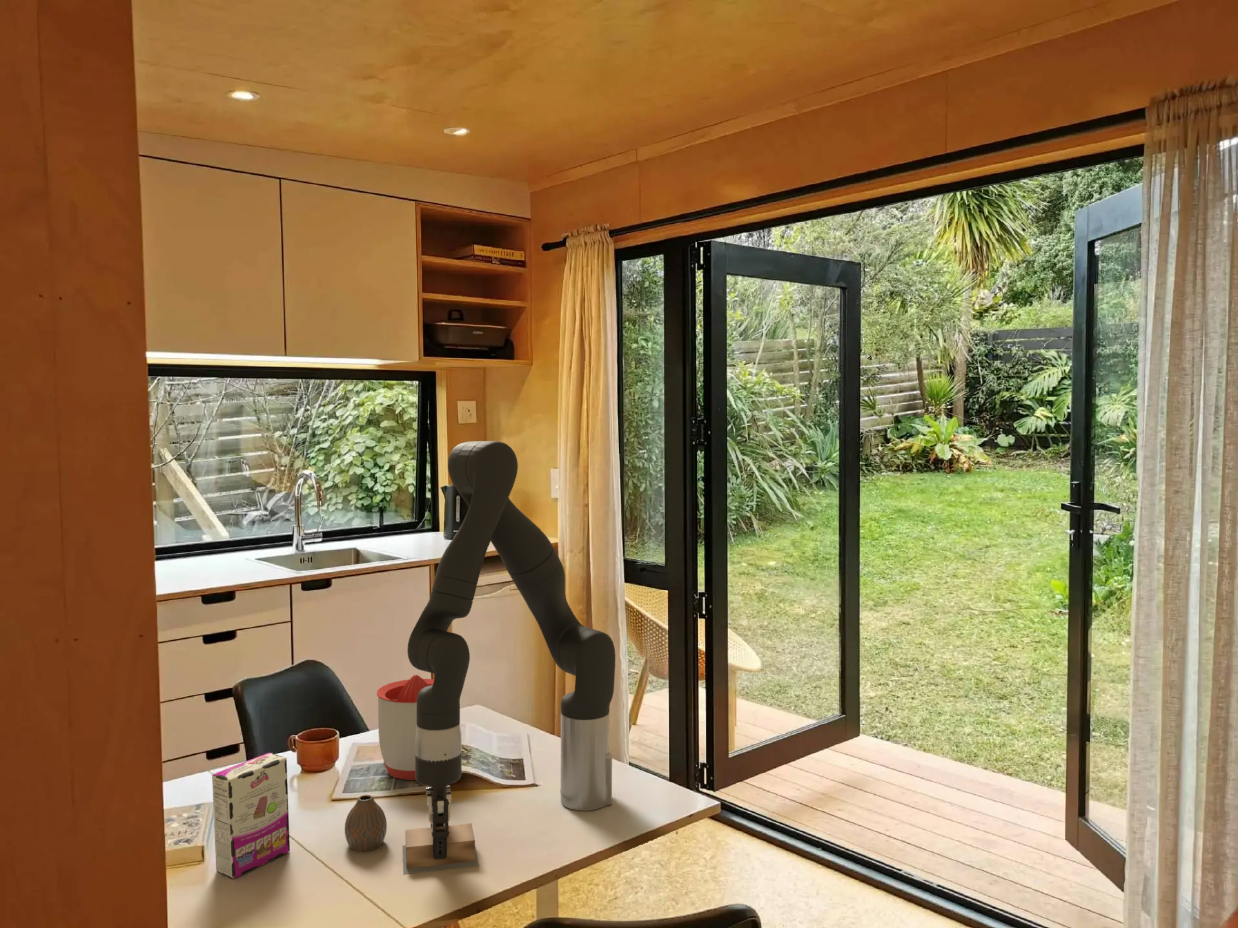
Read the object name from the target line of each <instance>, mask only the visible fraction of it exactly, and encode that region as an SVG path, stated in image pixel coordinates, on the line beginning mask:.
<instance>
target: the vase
mask: <svg viewBox="0 0 1238 928" xmlns="http://www.w3.org/2000/svg"><path fill="white" fill-rule="evenodd" d="M344 822H345V823H344V835H345V841H346V843H347V844H348V846H349V847H350V849H352V850H354V851H356V852H369V851H373V850H375V849H378V848H379V847H380V846H381V845H382V844H383V842H384V840H385V838H386V834H387V827H388V826H387V825H388V824H387V823H388V822H387V817H386V815H385V812H384V810H383V809H382V807H381V806H380V805H379V804H378V803H377V802H376V801H375V799H374V797H373V796H372V795H370V794H364V795H360V796H359V797H357V800H356V803H354V805H353V807H351V809H350V811H349V812H348V814H347V816H346V819H345V821H344Z"/></svg>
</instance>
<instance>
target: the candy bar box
mask: <svg viewBox="0 0 1238 928" xmlns="http://www.w3.org/2000/svg"><path fill="white" fill-rule="evenodd" d="M287 759H288V758H287V757H285V756H282V755H279V754H275V753H273V752H267V753H263V755H259V756H256V757H254V758H252V759H249V760H246V761H244V762H240V763H239V764H235V765H233V766H230V767H228V768H225V769H224V770H221V771H217V772H215V773H213V774H211V776H212V777H211V779H212V800H213V802H212V803H213V804H212V805H213V824H214V825H213V827H214V828H213V829H214V846H215V847H214V848H215V849H214V850H215V852H214V853H215V869H216V872H217V873H219V874H221V875H224V876H227V877H228V878H231V879H233V880H235V879H237V878H239V877H241V876H243V875H245V874H247V873H249V872H251V871H254V870H255V869H257V868H260V867H262V866H263V865H266V864H267V863H269V862H272V861H274V860H275V859H277V858H280V857H282V856H283V855H285V854H287V853H289V852H290V851H291V845H290V843H291V842H290V818H289V817H290V815H289V814H290V813H289V792H288V791H289V790H288V789H289V788H288V785H289V784H288V765H287V764H288V763H287V762H288V760H287Z"/></svg>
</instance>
